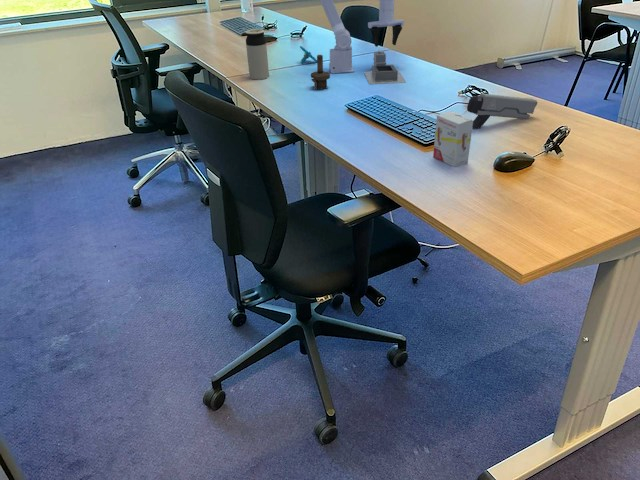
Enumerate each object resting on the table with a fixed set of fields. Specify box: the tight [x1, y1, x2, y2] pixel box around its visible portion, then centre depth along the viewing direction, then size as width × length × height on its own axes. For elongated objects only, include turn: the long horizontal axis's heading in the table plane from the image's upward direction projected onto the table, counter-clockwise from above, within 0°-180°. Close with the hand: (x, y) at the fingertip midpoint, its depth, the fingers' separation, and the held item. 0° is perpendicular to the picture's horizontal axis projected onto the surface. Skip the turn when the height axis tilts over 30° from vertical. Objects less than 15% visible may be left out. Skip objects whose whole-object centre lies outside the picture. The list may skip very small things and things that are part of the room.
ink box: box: [432, 110, 474, 168], centre depth 133 cm, size 9×5×12 cm, turn 31°
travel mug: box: [245, 28, 270, 80], centre depth 207 cm, size 8×8×18 cm
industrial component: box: [310, 54, 331, 90], centre depth 193 cm, size 9×7×12 cm
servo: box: [372, 49, 387, 66], centre depth 214 cm, size 4×10×7 cm, turn 3°
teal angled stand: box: [299, 45, 317, 64], centre depth 228 cm, size 11×6×10 cm
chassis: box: [363, 64, 406, 85], centre depth 204 cm, size 14×16×4 cm
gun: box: [466, 93, 538, 130], centre depth 156 cm, size 2×25×10 cm, turn 112°
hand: (385, 45), depth 211 cm, fingers open, 7 cm apart
